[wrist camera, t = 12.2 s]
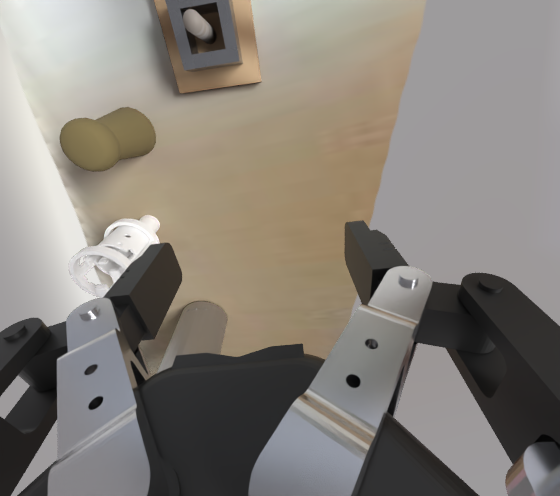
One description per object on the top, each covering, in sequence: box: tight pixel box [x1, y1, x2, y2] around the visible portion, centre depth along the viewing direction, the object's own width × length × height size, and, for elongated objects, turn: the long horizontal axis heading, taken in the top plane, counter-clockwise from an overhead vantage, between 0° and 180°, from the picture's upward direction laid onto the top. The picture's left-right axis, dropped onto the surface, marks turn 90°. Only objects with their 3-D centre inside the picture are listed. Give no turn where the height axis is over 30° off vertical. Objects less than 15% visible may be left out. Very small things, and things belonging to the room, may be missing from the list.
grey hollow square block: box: [165, 0, 243, 72], centre depth 27 cm, size 6×6×4 cm
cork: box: [60, 107, 156, 172], centre depth 30 cm, size 6×6×11 cm
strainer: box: [69, 215, 160, 298], centre depth 36 cm, size 7×7×15 cm
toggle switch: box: [154, 0, 261, 93], centre depth 26 cm, size 10×10×8 cm
